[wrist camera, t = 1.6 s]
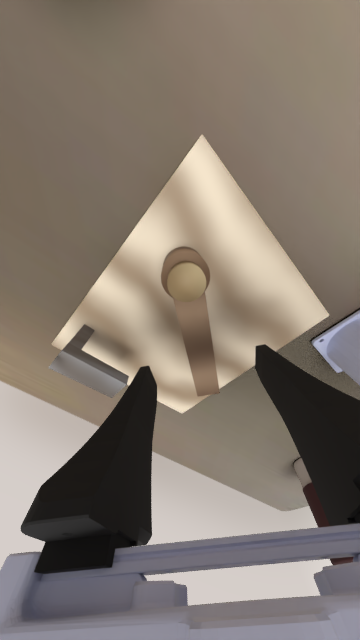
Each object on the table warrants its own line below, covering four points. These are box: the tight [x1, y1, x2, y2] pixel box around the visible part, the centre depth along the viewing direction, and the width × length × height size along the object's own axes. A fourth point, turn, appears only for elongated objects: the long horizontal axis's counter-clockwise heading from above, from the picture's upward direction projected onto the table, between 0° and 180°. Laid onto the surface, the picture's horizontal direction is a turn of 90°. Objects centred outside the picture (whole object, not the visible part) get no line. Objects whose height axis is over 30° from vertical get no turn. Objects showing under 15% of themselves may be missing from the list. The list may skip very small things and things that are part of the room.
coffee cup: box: [294, 458, 355, 565], centre depth 33 cm, size 10×10×15 cm
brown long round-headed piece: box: [161, 247, 220, 397], centre depth 17 cm, size 15×4×3 cm, turn 12°
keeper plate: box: [49, 135, 329, 413], centre depth 17 cm, size 23×20×6 cm
